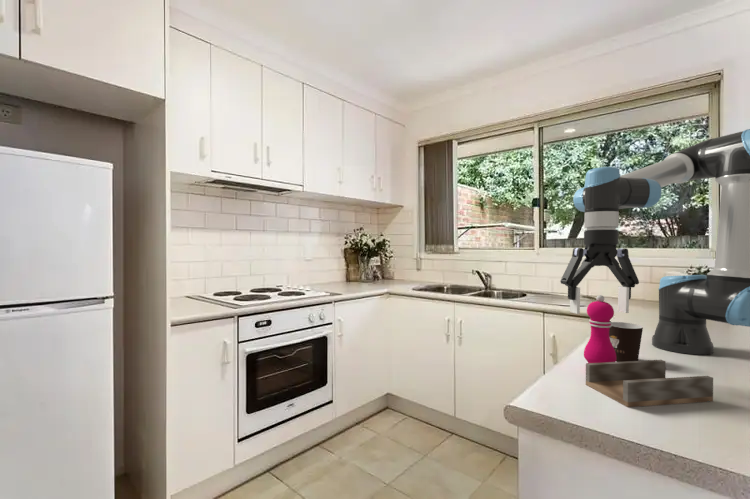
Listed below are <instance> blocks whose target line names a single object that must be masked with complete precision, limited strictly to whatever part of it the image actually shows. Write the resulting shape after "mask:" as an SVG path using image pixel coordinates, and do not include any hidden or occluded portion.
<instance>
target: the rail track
mask: <svg viewBox="0 0 750 499" xmlns="http://www.w3.org/2000/svg"><path fill="white" fill-rule="evenodd" d="M666 362H667V361H666V360H663V359H649V360H647V359H646V360H638V361H625V362H617V361H616V362H604V363H588V362H587V363H585V385H586V386H588V387H589V388H592V389H593V390H595V391H597V392H599V393H601V394H602V395H605V397H608V398H610V399H612V400H614V401H615V402H617V403H619V404H621V405H623V406H625V407H627V408H632V407H633V408H634V407H649V406H651V407H652V406H663V405H676V404H691V403H692V404H693V403H708V402H707V401H710V402H714V377H713V376H710V375H701V376H700V375H697V376H681V377H678V376H677V377H666V366H667V364H666Z"/></svg>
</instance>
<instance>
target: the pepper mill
mask: <svg viewBox="0 0 750 499" xmlns="http://www.w3.org/2000/svg"><path fill="white" fill-rule="evenodd" d="M595 297H596V300H595V301H591V302H590V303H589V304H588V305H587V308H586V313H587V315H588V317H589V318H590V319H588V322H589V323H588V325H589V326H590V336H589V339H588V341H587V344H586V345H585V347H584V349H583V357H584V359H585V360H586V362H587V363H604V362H617V361H616V353H615V350H614V348H613V346H612V343H611V341H610V337H609V329H610V327H611V323H612V322H613V321H611V319H612V318H613V317H614V316H615V315H614V314H615V309H614V308H613V306H612V305H611V304H610V303H608V302H607V301H605V297H604V295H602V294H599V295H597V296H595Z"/></svg>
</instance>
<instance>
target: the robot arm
mask: <svg viewBox="0 0 750 499" xmlns="http://www.w3.org/2000/svg"><path fill="white" fill-rule="evenodd" d="M620 173H621V172H620V168H618V167H615V166H600V167H594V168H591V169H588V170H587V172H586V173H585V180H584V186H583V187H582V188H579V189H577V190H576V191H575V193H574V195H573V206H574V207H575V208H576V210H578V211H579V212H581V213H582V212H583V213H584V217H583V218H584V221H583V224H584V225H583V226H584V228H585V229H586V230H584V231H583V245H585V246H584V248H583V247H573V249H572V254H571V258H570V260H569V263H568V264H567V266H566V268H565V271H564V273H562V274H563V275H562V277H561V279H560V281H559V282H560V284H562V285H565V287H567V300H569V312H570V313H573V314H577V315H579V314H580V313H581V287H578V286H579V284H580V283H581V282H582V281H583V279H584V278H585V277H586V276H587V274H588V273H589V271H591V269H592V268H594V267H601V266H602V267H607V268H608V269H609V270H610V272H611V273H612V274H613V275H614V277H615V278H616V280H617V281H618V282H619V283H620V285H621V286H618V287H617V289H618V290H617V312H620V313H624V314H629V310H630V309H629V306H630V300H631V298H632V288H635V287H636V285H639V283H640V280H639V278H638V275H637V274H636V271H635V268H634V265H633V263H632V261H631V260H630V257H629V249H628V248H622V247H621V248H620V247H619V248H617V245H618V244H619V231H618V229H617V228H619V222H620V220H619V219H620V218H619V214H620V213H619V211H620V209H630V208H633V209H635V208H637V209H644V208H645V209H647V208H652V207H654V206H655V205H657V204H658V203H659V201H660V199H661V197H662V191H663V190H662V188H663V187H666V186H669V185H671V184H678V185H679V184H684V183H686V182H690V181H697V180H704V179H714V178H715V179H714V181H715V182H716V183H717V184H719V185H720V186H721V191H720V200H719V201H720V202H719V214H718V225H717V236H716V245H715V246H716V247H715V260H714V267H713V269H712V270H710V271H709V272H707V273H706V274H689V275H665V276H663V277H661V278H660V280H659V286H658V287H659V288H658V323H657V324H656V325H657V326H656V327H655V330H654V334H653V335H652V337H651V345H652V346H653V347H656V348H658V349H661V350H665V351H668V352H674V353H680V354H689V355H710V354H711V355H712V354H713V353H714V348H715V347H714V342H712V339H711V336H710V333H709V330H708V328H707V321H712V322H713V321H714V322H719V323H724V324H729V325H731V326H742V327H749V328H750V128H749V129H748V128H747V129H745V130H743V131H738V132H734V133H730V134H726V135H722V136H719V137H718V136H717V137H714V138H713V137H712V138H708V139H706V140H703V141H702V140H701V141H700V142H698V143H696V144H693V145H690V146H688V147H686V148H683V149H681V150H679V151H677V152H673V153H672V154H671V153H670V154H669V155H667V156H666V157H665V158H664V160H662V161H659V162H656V163H653V164H650V165H647V166H645V167H641V168H639V169H636V170H633V171H631V172H627V173H625V174H620ZM583 257H585V258H584V259H583ZM616 257H617V259H616ZM580 264H581V265H580Z"/></svg>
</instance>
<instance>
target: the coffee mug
mask: <svg viewBox="0 0 750 499" xmlns="http://www.w3.org/2000/svg"><path fill="white" fill-rule="evenodd" d="M611 322H612V323H611V327H610V329H609V337H610V341H611V343H612V346H613V348H614V350H615V353H616V362H625V361H639V356H640V348H641V344H642V343H641V342H642V338H643V337H642V336H643V330H644V326H643V325H640V324H637V323H632V322H623V321H611Z"/></svg>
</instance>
